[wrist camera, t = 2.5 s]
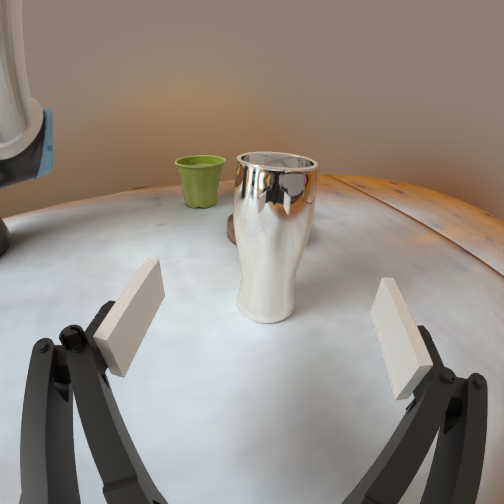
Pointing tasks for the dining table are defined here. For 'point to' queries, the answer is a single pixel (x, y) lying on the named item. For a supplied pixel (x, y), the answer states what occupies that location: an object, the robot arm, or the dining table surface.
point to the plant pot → (200, 179)
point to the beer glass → (271, 229)
